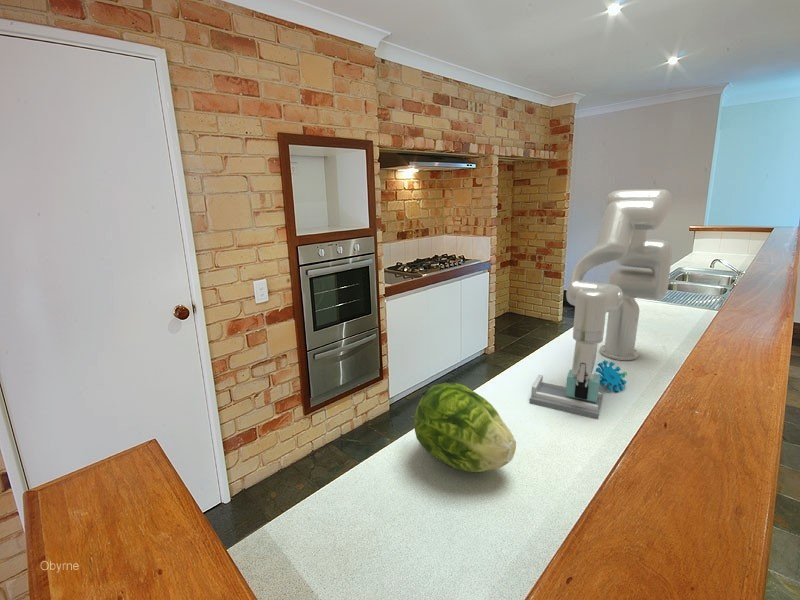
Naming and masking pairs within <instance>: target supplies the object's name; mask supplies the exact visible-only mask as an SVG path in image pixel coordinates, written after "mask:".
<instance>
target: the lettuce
mask: <svg viewBox="0 0 800 600" xmlns="http://www.w3.org/2000/svg"><path fill="white" fill-rule="evenodd" d="M413 420H414V421H413V428H414V434H415V438H416V440H417V441H418V442H419V444H420V445H421V447H422V448H423V449H424V450H425V451H426V452H427V454H430V455H431V456H432V457H434V458H435V459H437V460H439V461H441V462H442V463H445V464H446V465H448V466H449V467H451V468H454V469H456V470H459V471H464V472H470V473H483V472H487V471H491V470H497V469H501V468H503V467H504V466H506V465H508V464H509V463H510V462H512V460H513V458H514V456H515V453H516V449H517V442H516V440H515V438H514V435H513V434H512V432H511V430H510V429H509V427H508V426H507V425H506V424H505V422H504V421H503V419H502V417H501V416H500V414H499V412H498V411H497V409H495V407H494V406H493V405H492V404H491V403H490V402H489V401H488V400H487V399H485V398H484V397H483V396H481V395H479V394H478V393H477V392H475V391H474V390H472V389H471V388H469V387H468V386H466V385H463V384H461V383H456V382H443V383H438V384H435V385H431V387H430V388H429V389H428V390H427V391H426V392H425V394H424V395H422V397H421V399H420V401H419V403H418V405H417V407H416V410H415V413H414V418H413Z"/></svg>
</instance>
